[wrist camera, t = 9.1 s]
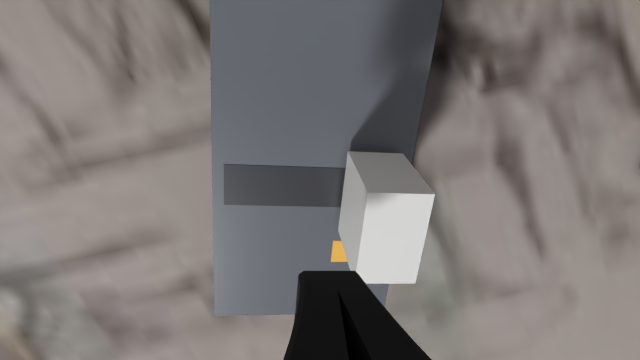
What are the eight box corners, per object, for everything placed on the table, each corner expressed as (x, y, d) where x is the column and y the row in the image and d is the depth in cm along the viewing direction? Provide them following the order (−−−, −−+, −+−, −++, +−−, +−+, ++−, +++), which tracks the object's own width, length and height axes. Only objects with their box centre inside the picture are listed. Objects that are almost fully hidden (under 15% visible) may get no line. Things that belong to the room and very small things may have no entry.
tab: (403, 153, 16) (434, 194, 13) (388, 230, 17) (415, 283, 14) (347, 151, 15) (368, 192, 12) (337, 229, 17) (354, 283, 14)
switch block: (486, -378, 12) (527, -442, 10) (372, 283, 21) (383, 313, 19) (211, -441, 11) (201, -526, 9) (218, 284, 20) (214, 315, 18)
